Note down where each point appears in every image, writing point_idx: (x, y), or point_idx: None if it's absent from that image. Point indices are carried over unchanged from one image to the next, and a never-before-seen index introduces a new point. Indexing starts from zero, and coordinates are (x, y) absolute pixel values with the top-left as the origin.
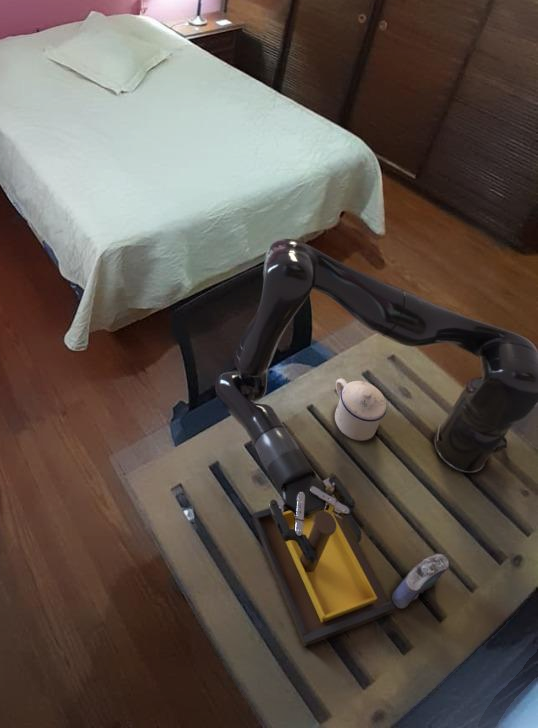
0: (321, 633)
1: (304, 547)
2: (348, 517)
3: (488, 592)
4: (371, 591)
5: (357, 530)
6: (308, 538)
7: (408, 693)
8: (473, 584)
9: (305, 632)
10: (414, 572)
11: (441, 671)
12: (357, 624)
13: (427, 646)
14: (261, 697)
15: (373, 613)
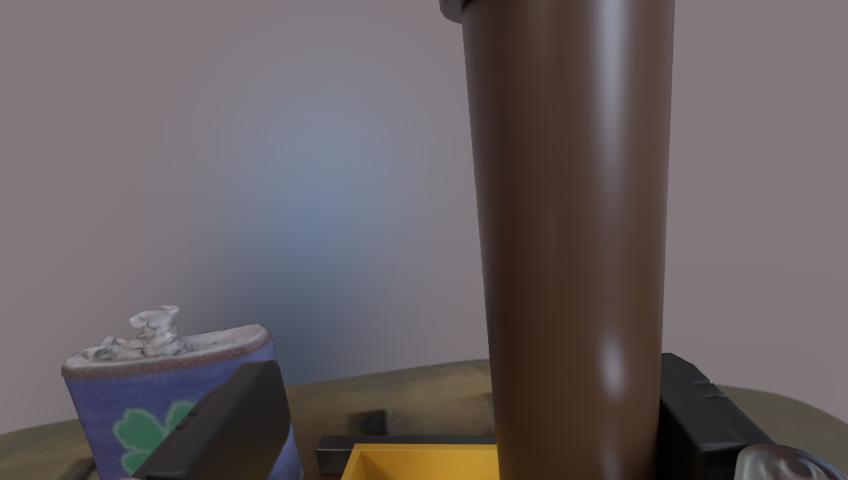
0: None
1: (713, 396)
2: (170, 452)
3: (80, 444)
4: (355, 464)
5: (229, 379)
6: (656, 442)
7: (427, 371)
8: (76, 465)
9: None
10: (203, 350)
11: (336, 379)
12: None
13: (319, 408)
14: (838, 426)
15: (396, 439)
